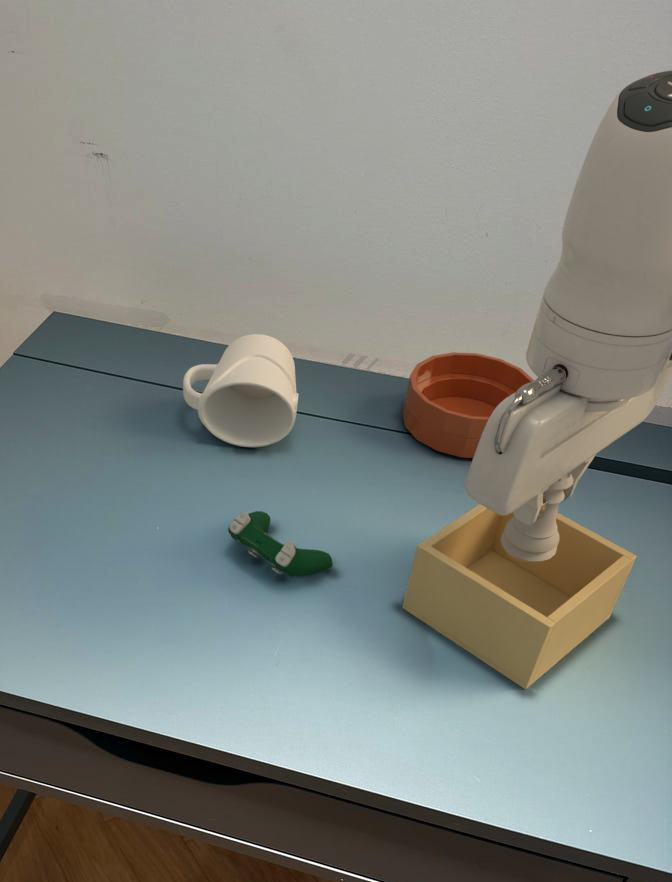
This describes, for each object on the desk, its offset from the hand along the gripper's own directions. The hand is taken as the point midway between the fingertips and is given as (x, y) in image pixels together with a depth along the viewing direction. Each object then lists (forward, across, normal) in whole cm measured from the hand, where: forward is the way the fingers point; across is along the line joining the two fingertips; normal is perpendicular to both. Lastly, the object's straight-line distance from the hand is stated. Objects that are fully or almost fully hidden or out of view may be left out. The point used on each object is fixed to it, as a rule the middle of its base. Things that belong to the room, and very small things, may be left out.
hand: (542, 507), depth 77 cm
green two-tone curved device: (+12, -10, +18) cm, 24 cm away
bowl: (+11, +21, +20) cm, 31 cm away
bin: (+11, 0, 0) cm, 11 cm away
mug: (+12, +3, +36) cm, 38 cm away
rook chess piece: (+4, 0, 0) cm, 4 cm away
